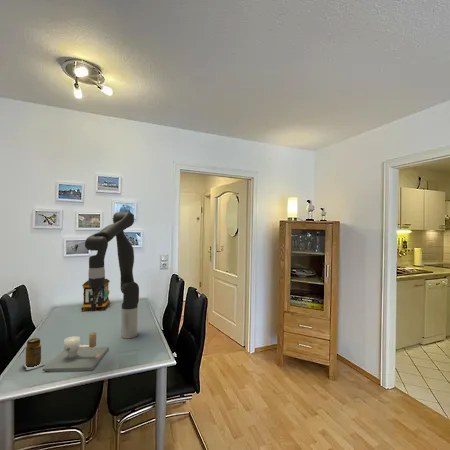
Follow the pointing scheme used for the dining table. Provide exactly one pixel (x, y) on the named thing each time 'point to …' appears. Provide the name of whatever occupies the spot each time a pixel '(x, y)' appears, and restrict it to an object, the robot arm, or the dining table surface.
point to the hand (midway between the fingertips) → (97, 308)
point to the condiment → (33, 352)
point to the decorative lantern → (105, 299)
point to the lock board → (76, 360)
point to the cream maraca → (74, 343)
